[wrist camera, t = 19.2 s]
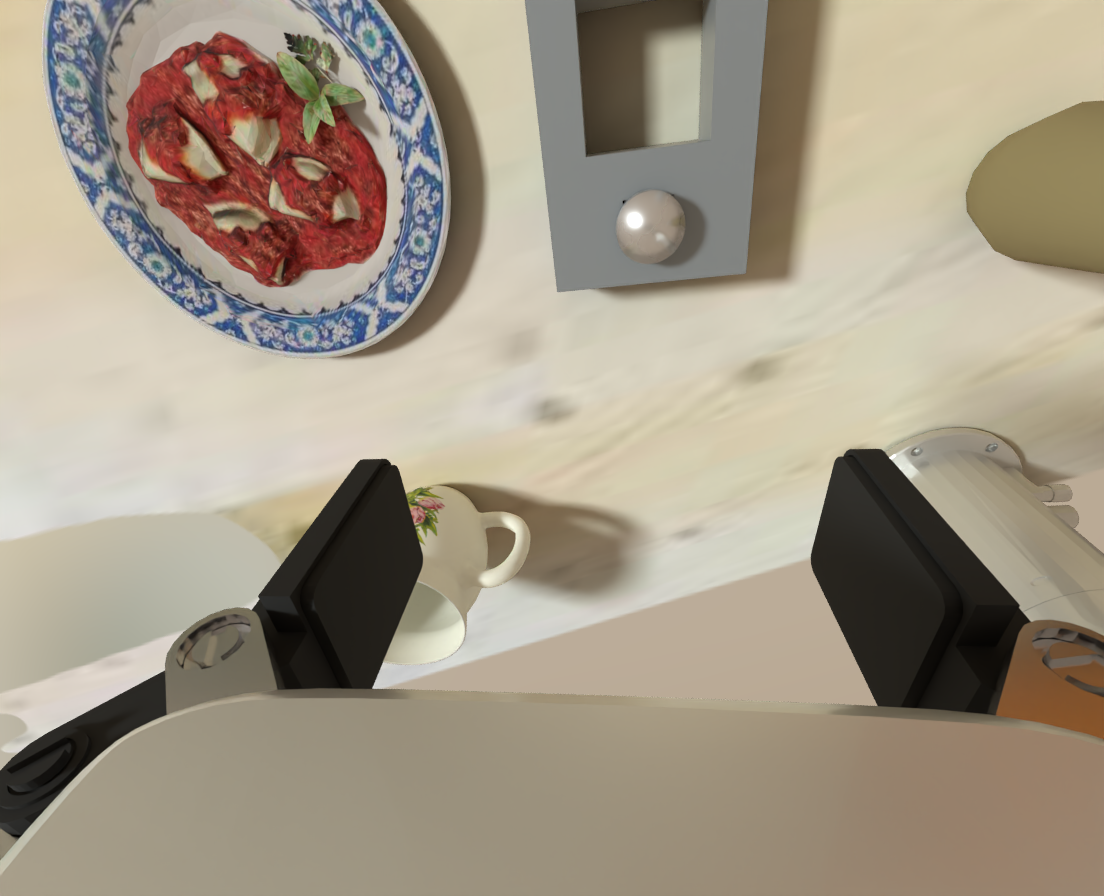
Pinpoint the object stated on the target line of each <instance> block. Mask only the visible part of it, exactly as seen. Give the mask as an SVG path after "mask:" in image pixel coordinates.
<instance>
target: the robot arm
mask: <svg viewBox="0 0 1104 896" xmlns="http://www.w3.org/2000/svg"><path fill="white" fill-rule="evenodd" d="M1071 498H1072V491H1071V489H1070V487H1069V486H1067V485H1065V484H1059V485H1045V486H1036V485H1035V484H1033V483H1032V482H1031V481H1029V480H1028V479H1027V478H1026V477H1025V476H1023V473H1022V465H1021V462H1020V459H1019V457H1018V455H1017V454H1016V453H1015V451H1014V450H1013V449H1012V448H1011V447H1010V446H1009V445H1008V444H1006V443H1005V442H1004V441H1003V440H1001V439H1000V438H998V437H996V436H994V435H993V434H991V433H988V432H985V431H982V430H978V429H972V428H962V427H960V428H944V429H939V430H934V431H929V432H926V433H923V434H920V435H917V436H914V437H911V438H909V439H907V440H905V441H903V442H901V443H899V444H897V445H896V446H894V447H893V448H891V449H890V450H888V451H887V452H884V451H883V450H881V449H850V450H848V451H846V453H845V454H844V457H838V458H837V459H836V460H835V463H834V466H833V470H832V474H831V478H830V482H829V486H828V490H827V494H826V498H825V501H824V505H823V509H822V513H821V517H820V521H819V525H818V529H817V533H816V537H815V541H814V545H813V549H812V553H811V565H812V569H813V572H814V574H815V576H816V578H817V580H818V582H819V584H820V586H821V589H822V591H823V593H824V595H825V597H826V599H827V601H828V603H829V605H830V607H831V610H832V611H833V614H834V616H835V618H836V620H837V622H838V624H839V626H840V628H841V630H842V632H843V634H844V637H845V639H846V641H847V643H848V645H849V647H850V649H851V651H852V653H853V655H854V657H855V660H856V662H857V664H858V666H859V668H860V670H861V672H862V674H863V676H864V678H865V680H866V682H867V684H868V687H869V689H870V691H871V693H872V695H873V697H874V699H875V701H876V703H877V705H878V706H862V705H845V704H822V703H797V702H770V701H745V700H720V699H694V698H664V697H635V696H607V695H576V694H546V693H545V694H544V693H513V692H477V691H442V690H406V689H405V690H404V689H372V687H373V685H374V682H375V680H376V678H377V675H378V673H379V670H380V668H381V666H382V663H383V661H384V658H385V656H386V654H387V651H388V649H389V646H390V644H391V642H392V639H393V637H394V634H395V632H396V630H397V627H398V625H399V622H400V620H401V618H402V615H403V613H404V610H405V608H406V606H407V603H408V601H409V598H410V596H411V594H412V591H413V589H414V586H415V584H416V582H417V579H418V577H419V574H420V572H421V569H422V566H423V553H422V549H421V546H420V542H419V539H418V535H417V532H416V528H415V525H414V521H413V518H412V514H411V511H410V507H409V504H408V500H407V497H406V493H405V490H404V486H403V483H402V479H401V476H400V472H399V470H398V468H397V466H395V465H391V463H390V462H389V461H388V460H387V459H363V460H360V461H359V462H358V463H357V464H356V466H355V467H354V468H353V470H352V471H351V472H350V474H349V475H348V476H347V478H346V479H345V480H344V482H343V483H342V484H341V486H340V487H339V488H338V490H337V491H336V492H335V494H334V495H333V496H332V498H331V499H330V500H329V502H328V503H327V504H326V506H325V507H324V509H323V510H322V511H321V513H320V514H319V515H318V517H317V518H316V519H315V521H314V522H313V523H312V525H311V526H310V527H309V529H308V530H307V531H306V533H305V534H304V535H303V537H302V538H301V539H300V541H299V542H298V543H297V545H296V546H295V547H294V549H293V550H292V551H291V553H290V554H289V555H288V557H287V558H286V559H285V561H284V562H283V563H282V565H281V566H280V568H279V569H278V570H277V572H276V573H275V574H274V576H273V577H272V578H271V580H270V581H269V582H268V584H267V585H266V586H265V588H264V589H263V590H262V592H261V593H260V594H259V596H258V597H259V599H260V600H259V601H258V602H257V604H256V605H255V606H254V608H253V609H252V610H250V609H248V608H239V607H237V608H231V609H224V610H222V611H219V612H216V613H214V614H210V615H209V616H207V617H205V618H203V619H201V620H199V621H198V622H196V623H195V624H193V625H192V626H191V627H189V628H188V629H187V630H186V631H184V632H183V633H182V634H181V635H180V636H179V638H178V639H177V640H176V641H175V642H174V643H173V645H172V646H171V648H170V650H169V651H168V653H167V657H166V662H165V671H163V672H161V673H159V674H157V675H156V676H154V677H152V678H150V679H148V680H146V681H144V682H142V683H141V684H139V685H137V686H135V687H133V688H131V689H129V690H127V691H125V692H124V693H122V694H120V695H118V696H116V697H114V698H112V699H110V700H109V701H107V702H105V703H103V704H101V705H99V706H97V707H95V708H93V709H92V710H90V711H88V712H86V713H84V714H82V715H80V716H78V717H77V718H75V719H73V720H71V721H69V722H67V723H65V724H63V725H61V726H60V727H58V728H56V729H54V730H52V731H50V732H48V733H47V734H45V735H43V736H42V737H40V738H39V739H37V740H35V741H34V742H32V743H30V744H29V745H28V746H27V747H25V748H24V749H23V750H22V751H20V752H19V753H18V754H17V755H15V756H14V757H13V758H12V759H11V760H10V761H9V762H8V763H7V764H6V765H5V766H4V767H3V768H2V770H1V771H0V896H1104V554H1103V553H1102V552H1101V551H1100V550H1098V549H1097V548H1096V547H1095V546H1093V545H1092V544H1091V543H1090V542H1089V541H1088V540H1087V539H1085V538H1084V537H1083V536H1082V535H1081V534H1079V533H1078V532H1077V531H1076V530H1075V529H1073V528H1075V527H1076V526H1077V525H1078V523H1079V516H1078V513H1077V511H1076V510H1075V509H1074V508H1073V507H1071V506H1069V505H1063V506H1046V505H1045V504H1044V503H1042V502H1065V501H1069V500H1070V499H1071Z"/></svg>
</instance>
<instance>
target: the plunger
mask: <svg viewBox="0 0 1104 896" xmlns="http://www.w3.org/2000/svg"><path fill="white" fill-rule="evenodd" d="M685 225H686V224H685V215H684V212H683V209H682V207H681V205H680V204H679V202H678V201H677V200H676V199H675V198H674V197H673V196H671V195H670V194H669V193H667V192H665V191H663V190H659V189H646V190H642V191H639V192H637V193H635V194H634V195H632V196H631V197H630V198H629V199H627V201H626V202H625V203H624V204H623V206H622V207H621V209H620V211H619V213H618V216H617V220H616V236H617V240H618V243H619V246H620V248H621V250H622V251H623V252H624V254H625V255H626V256H627V257H629V258H630V259H632V260H633V261H635V262H638V263H642V264H653V263H658V262H661V261H663V260H665V259H666V258H668V257H669V256H670V255H672V254H673V253H674V252H675V251H676V249H677V248H678V247H679V245H680V243H681V241H682V239H683V236H684V233H685Z"/></svg>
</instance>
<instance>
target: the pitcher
mask: <svg viewBox="0 0 1104 896" xmlns="http://www.w3.org/2000/svg"><path fill="white" fill-rule="evenodd" d="M406 497H407V500H408V504H409V507H410V511H411V514H412V518H413V521H414V525H415V528H416V532H417V535H418V539H419V542H420V546H421V549H422V553H423V566H422V569H421V572H420V574H419V577H418V579H417V582H416V584H415V586H414V589H413V591H412V594H411V596H410V598H409V601H408V603H407V606H406V608H405V610H404V613H403V615H402V618H401V620H400V622H399V625H398V627H397V630H396V632H395V634H394V637H393V639H392V642H391V644H390V646H389V649H388V651H387V654H386V656H385V658H384V661H383V662H385V663H390V664H397V665H422V664H429V663H433V662H437V661H440V660H443V659H445V658H447V657H449V656H451V655H452V654H454V653H455V652H456V651H457V650H458V649H459V648H460V647H461V645H462V644H463V642H464V640H465V635H466V627H467V612H468V611H469V610H470V608H471V607H472V605H473V604H474V602H475V601H476V599H477V597H478V595H479V593H480V590H481V588H490V587H495V586H499V585H501V584H504V583H505V582H507V581H508V580H510V579H511V578H512V577H513V576H515V575H516V574H517V572H518V571H519V570H520V569H521V567H522V566H523V564H524V562H525V560H526V557H527V555H528V552H529V548H530V532H529V529H528V526H527V525H526V523H525V522H524V520H523V519H521V518H520V517H519V516H517V515H515V514H511V513H508V512H485V513H480V512H478V511H477V509H476V508H475V506H474V505H473V503H472V502H471V501H470V499H469V498H468V497H467V496H466V495H464V494H463V493H461V492H460V491H458V490H456V489H454V488H451V487H447V486H441V485H434V486H427V487H421V488H417V489H415V490H412V491H410V492H408V493H406ZM491 527H504V528H507V529H509V530H512V531H513V532H515V534H516V541H515V545H514V548H513V550H512V552H511V553H510V555H509V556H508V558H507V559H506V560H505V561H504V562H503V563H502V564H500V565H499V566H497V567H495V568H493V569H490V570H486V569H487V560H488V543H487V536H486V529H487V528H491Z"/></svg>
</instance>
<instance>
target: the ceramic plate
mask: <svg viewBox="0 0 1104 896" xmlns="http://www.w3.org/2000/svg"><path fill="white" fill-rule="evenodd" d="M42 66H43V83H44V89H45V94H46V99H47V103H48V108H49V112H50V116H51V120H52V124H53V128H54V131H55V134H56V138H57V141H58V144H59V147H60V151H61V153H62V156H63V158H64V160H65V162H66V165H67V167H68V169H69V171H70V173H71V175H72V178H73V180H74V182H75V184H76V186H77V188H78V190H79V192H80V194H81V196H82V197H83V199H84V201H85V203H86V205H87V207H88V208H89V210H90V212H91V214H92V216H93V217H94V218H95V220H96V221H97V223H98V224H99V226H100V227H101V229H102V230H103V231H104V233H105V234H106V235H107V237H108V238H109V239H110V241H111V242H112V243H113V245H114V246H115V248H116V249H117V250H118V251H119V252H120V254H121V255H122V256H123V257H124V258H125V259H126V261H127V262H128V263H129V264H130V265H131V266H132V267H133V269H134V270H135V271H136V272H137V273H138V274H139V275H140V276H141V277H142V278H143V279H144V280H145V281H146V282H147V283H148V284H149V285H150V286H151V287H152V288H154V289H155V290H156V291H157V292H158V293H159V294H160V295H161V296H162V297H164V298H165V299H166V300H167V301H169V302H170V303H171V304H172V305H173V306H175V307H176V308H177V309H179V310H180V311H182V312H183V313H184V314H186V315H187V316H189V317H190V318H191V319H193V320H194V321H196V322H198V323H199V324H201V325H203V326H204V327H206V328H207V329H209V330H211V331H213V332H215V333H217V334H219V335H221V336H222V337H224V338H227V339H229V340H231V341H234V342H236V343H238V344H240V345H243V346H246V347H249V348H252V349H255V350H258V351H261V352H265V353H269V354H273V355H278V356H284V357H291V358H302V359H321V358H330V357H337V356H342V355H346V354H350V353H353V352H356V351H359V350H362V349H365V348H367V347H369V346H371V345H373V344H376V343H377V342H379V341H381V340H382V339H384V338H386V337H387V336H389V335H390V334H391V333H393V332H394V331H395V330H396V329H398V328H399V327H400V326H401V325H402V324H403V323H404V322H405V321H406V320H407V319H408V318H409V317H410V316H411V315H412V314H413V313H414V311H415V310H416V309H417V308H418V306H419V305H420V304H421V302H422V301H423V299H424V297H425V296H426V294H427V292H428V291H429V289H430V287H431V285H432V283H433V281H434V279H435V277H436V275H437V272H438V269H439V266H440V263H441V261H442V258H443V254H444V251H445V248H446V241H447V235H448V228H449V222H450V208H451V187H450V172H449V164H448V156H447V150H446V146H445V141H444V136H443V132H442V128H441V124H440V121H439V118H438V114H437V111H436V107H435V104H434V102H433V99H432V97H431V94H430V91H429V89H428V86H427V84H426V81H425V79H424V77H423V75H422V73H421V71H420V68H419V66H418V64H417V62H416V60H415V58H414V56H413V54H412V52H411V51H410V49H409V47H408V45H407V44H406V42H405V40H404V38H403V37H402V35H401V33H400V32H399V30H398V29H397V27H396V26H395V24H394V23H393V21H392V20H391V18H390V17H389V16H388V14H387V13H386V11H385V10H384V8H383V7H382V6H381V5H380V3H379V2H378V1H377V0H47V4H46V7H45V11H44V19H43V31H42Z"/></svg>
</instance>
